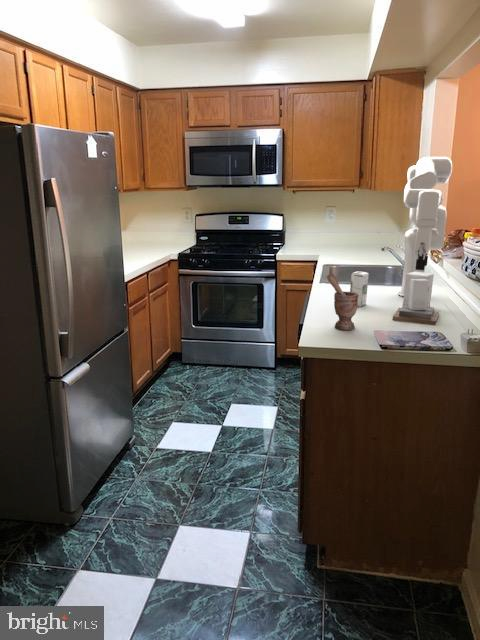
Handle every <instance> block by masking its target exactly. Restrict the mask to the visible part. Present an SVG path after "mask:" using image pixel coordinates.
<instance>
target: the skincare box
mask: <svg viewBox="0 0 480 640" xmlns="http://www.w3.org/2000/svg"><path fill="white" fill-rule="evenodd" d="M428 284H429V281H428V280H426V279H411V281H410V293H409V304H408V308H409V309H411V310H426V305H427V295H428Z"/></svg>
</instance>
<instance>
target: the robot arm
mask: <svg viewBox="0 0 480 640" xmlns="http://www.w3.org/2000/svg"><path fill="white" fill-rule="evenodd" d="M452 172H453V162H452V160H451V159H450V158H449V157H447V156H425V157H422V158H420V159H418V161H417V162H416V165H415V164H414V165H411V166H409V168H408V170H407V175H406V176H407V183H406V184H405V187H404V191H403V203H404V206H405V207H406V208H407V209H409V223H410V224H411V225H412V226H414V227H415V228H411V229H410V228H409V230H407V231H406V232H405V233H404V238H403V239H404V261H403V272H402V282H401V290H399V291H398V292H397V295H398V296H399V295H400V297H402V296H404V288H405V278H406V274H407V273H411V272H423V273H425V270H426V267H427V266H428V258H429V256H428V255H429V252H430V251H440V250H442V249H443V247H444V245H445V237H446V224H447V209H446V207H445V206H443V205H442V203H443V200H444V199H443V197H444V196H443V193H442V191H441V190H439V189H436V188H435V189H434V187H435V186H436V185H445V184H447V183H448V181H449V179H450V177H451V175H452Z"/></svg>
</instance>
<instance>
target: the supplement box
mask: <svg viewBox="0 0 480 640" xmlns="http://www.w3.org/2000/svg"><path fill="white" fill-rule="evenodd" d="M411 279H426V280H428V281H429V284H428V295H427V305H426V307H431V302H432V301H431V300H432V292H433V282H434V273H430V272H429V273H428V272H424V273H423V272H411V273H407V274H406V278H405V288H404V297H403V298H402V306H403V305H408V304H409V293H410V281H411Z"/></svg>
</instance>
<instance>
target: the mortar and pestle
mask: <svg viewBox="0 0 480 640" xmlns="http://www.w3.org/2000/svg"><path fill="white" fill-rule="evenodd" d="M326 278H327V280H328V282H329V283H330V285H331V286H332V288H333V289H334V290H335V292H334V294H333V295H334V298H333V299H334V301H333V303H334V307H333V308H334V312H335V314H336V315H337V316H338V320H337V321H336V322H335V323H334V328H335V329H337V330H343V331H354V330H355V329H356V328H355V327H356V326H355V323H354V322H353V321H352V319H353V317H354V316H355V315H356V312H357V309H358V306H357V304H358V294H357V293H354V292H350V291H343V290H342V288H341V286H340V284H339V282H338V280H337V278H336V276H335V274H334V273H329V274H328V275H326Z"/></svg>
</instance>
